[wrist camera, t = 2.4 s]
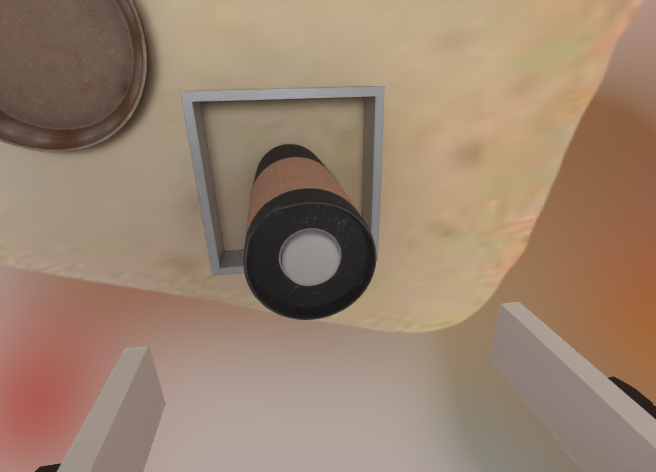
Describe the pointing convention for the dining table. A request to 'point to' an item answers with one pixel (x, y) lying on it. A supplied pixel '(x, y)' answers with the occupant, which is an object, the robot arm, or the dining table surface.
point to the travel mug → (304, 238)
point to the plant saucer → (68, 71)
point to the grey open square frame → (192, 108)
